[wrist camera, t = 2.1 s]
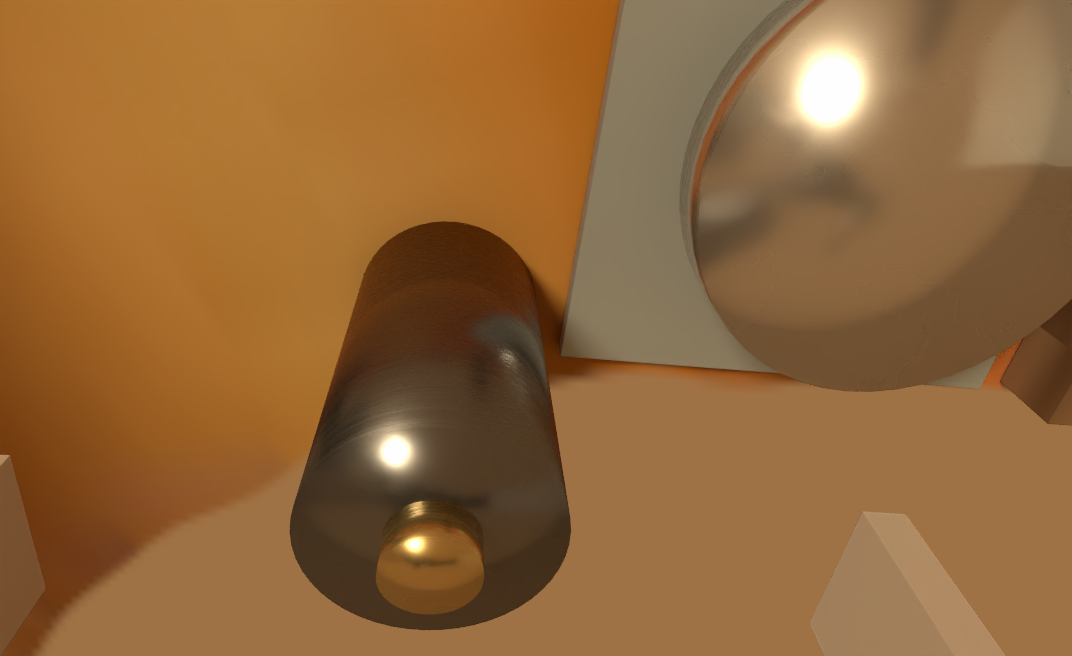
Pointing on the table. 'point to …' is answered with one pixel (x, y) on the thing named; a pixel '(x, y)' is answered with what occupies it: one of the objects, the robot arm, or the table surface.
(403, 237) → the cell
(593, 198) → the base
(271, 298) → the table surface
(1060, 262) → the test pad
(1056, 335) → the brown square tray
